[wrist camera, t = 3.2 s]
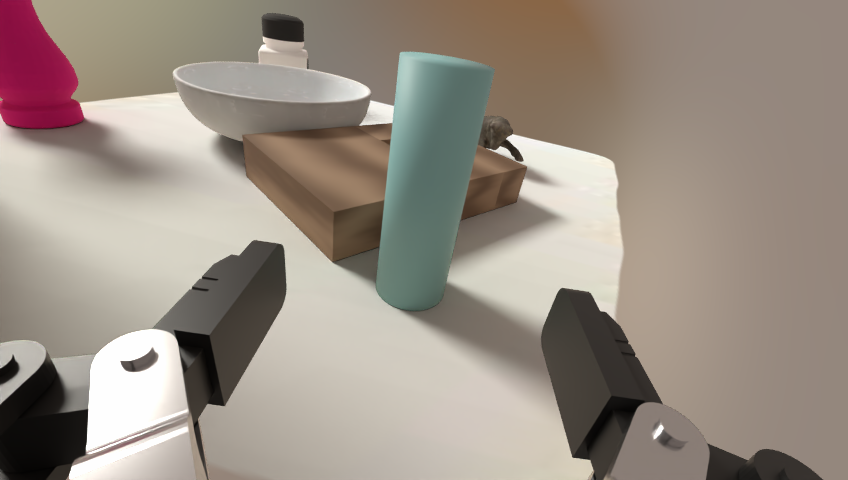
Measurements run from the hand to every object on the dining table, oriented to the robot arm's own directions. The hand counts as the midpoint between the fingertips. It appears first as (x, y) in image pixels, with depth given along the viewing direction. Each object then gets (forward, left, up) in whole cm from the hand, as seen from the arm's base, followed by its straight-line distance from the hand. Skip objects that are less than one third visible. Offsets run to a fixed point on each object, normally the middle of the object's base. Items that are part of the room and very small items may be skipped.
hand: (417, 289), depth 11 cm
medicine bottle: (+22, +58, -9) cm, 63 cm away
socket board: (+16, +21, -9) cm, 28 cm away
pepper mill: (-8, +50, -9) cm, 52 cm away
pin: (+8, +8, -9) cm, 14 cm away
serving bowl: (+13, +39, -9) cm, 42 cm away
